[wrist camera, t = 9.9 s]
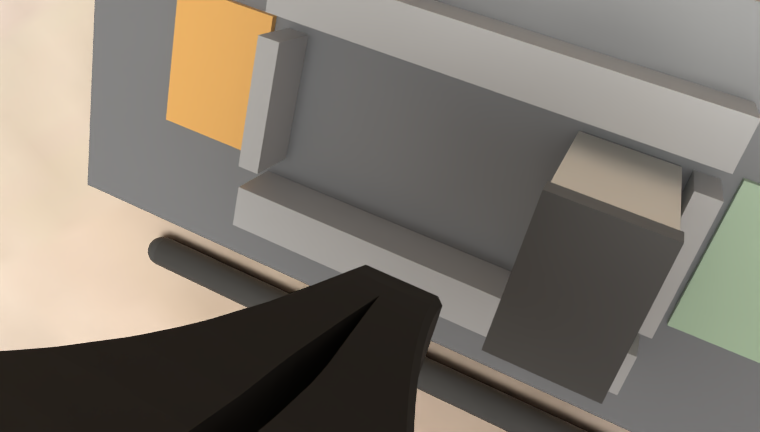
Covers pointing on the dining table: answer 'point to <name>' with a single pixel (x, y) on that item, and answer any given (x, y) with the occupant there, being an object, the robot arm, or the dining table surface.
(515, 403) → the dark grey rod
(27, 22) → the dining table surface
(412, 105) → the breaker panel
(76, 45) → the dining table surface
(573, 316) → the grey and beige block
